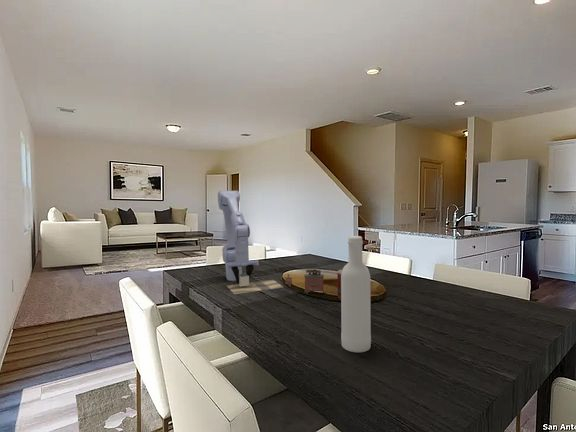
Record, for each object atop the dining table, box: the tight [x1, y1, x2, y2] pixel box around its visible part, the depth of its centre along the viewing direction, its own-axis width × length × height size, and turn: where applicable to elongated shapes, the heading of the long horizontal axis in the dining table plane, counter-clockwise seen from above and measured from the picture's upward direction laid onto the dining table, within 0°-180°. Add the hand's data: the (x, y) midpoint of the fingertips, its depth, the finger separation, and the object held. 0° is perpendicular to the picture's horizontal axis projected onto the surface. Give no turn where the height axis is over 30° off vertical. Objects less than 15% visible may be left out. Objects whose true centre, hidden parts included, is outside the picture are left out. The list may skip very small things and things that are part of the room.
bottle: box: [340, 235, 372, 353], centre depth 89 cm, size 8×8×30 cm
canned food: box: [336, 268, 343, 301], centre depth 130 cm, size 8×8×11 cm
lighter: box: [304, 268, 325, 294], centre depth 139 cm, size 8×3×10 cm, turn 84°
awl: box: [284, 273, 293, 287], centre depth 149 cm, size 3×3×6 cm
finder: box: [238, 272, 250, 286], centre depth 146 cm, size 6×4×4 cm, turn 23°
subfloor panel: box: [226, 279, 284, 295], centre depth 146 cm, size 14×22×1 cm, turn 113°
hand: (242, 282), depth 146 cm, fingers closed on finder, 4 cm apart
